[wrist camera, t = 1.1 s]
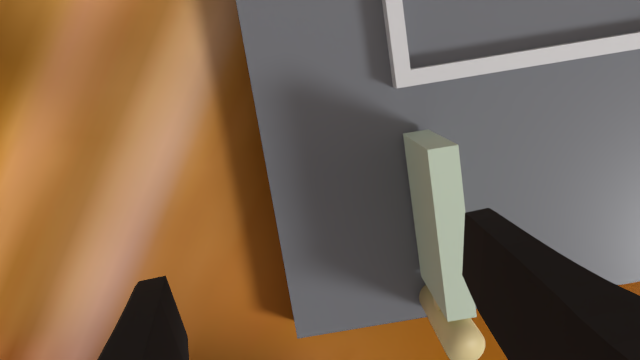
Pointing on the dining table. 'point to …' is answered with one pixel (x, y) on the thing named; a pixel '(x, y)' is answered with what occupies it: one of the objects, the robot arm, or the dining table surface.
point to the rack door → (442, 241)
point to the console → (447, 121)
